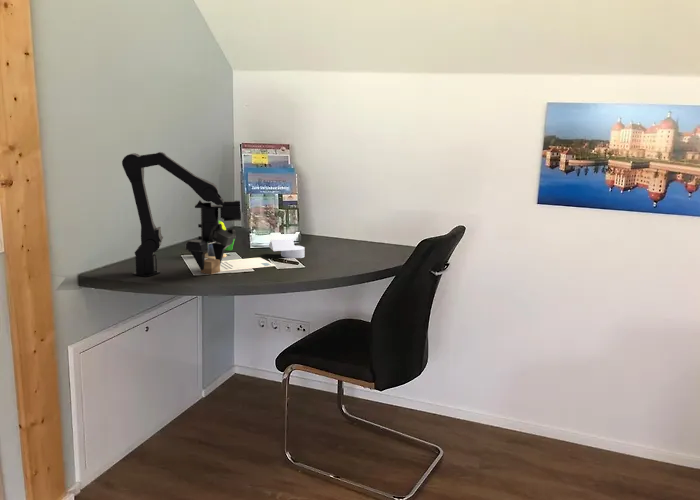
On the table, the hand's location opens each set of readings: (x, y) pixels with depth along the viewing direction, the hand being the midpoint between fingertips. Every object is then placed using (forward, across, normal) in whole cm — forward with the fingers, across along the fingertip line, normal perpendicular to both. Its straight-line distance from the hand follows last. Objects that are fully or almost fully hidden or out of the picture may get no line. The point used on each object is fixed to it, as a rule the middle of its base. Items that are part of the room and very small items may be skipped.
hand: (210, 266), depth 211 cm
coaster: (+2, +21, +14) cm, 25 cm away
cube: (+2, 0, 0) cm, 2 cm away
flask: (+1, +21, +14) cm, 25 cm away
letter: (+2, +15, -2) cm, 15 cm away
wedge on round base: (+2, +36, -9) cm, 37 cm away
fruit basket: (+2, +33, +20) cm, 39 cm away
